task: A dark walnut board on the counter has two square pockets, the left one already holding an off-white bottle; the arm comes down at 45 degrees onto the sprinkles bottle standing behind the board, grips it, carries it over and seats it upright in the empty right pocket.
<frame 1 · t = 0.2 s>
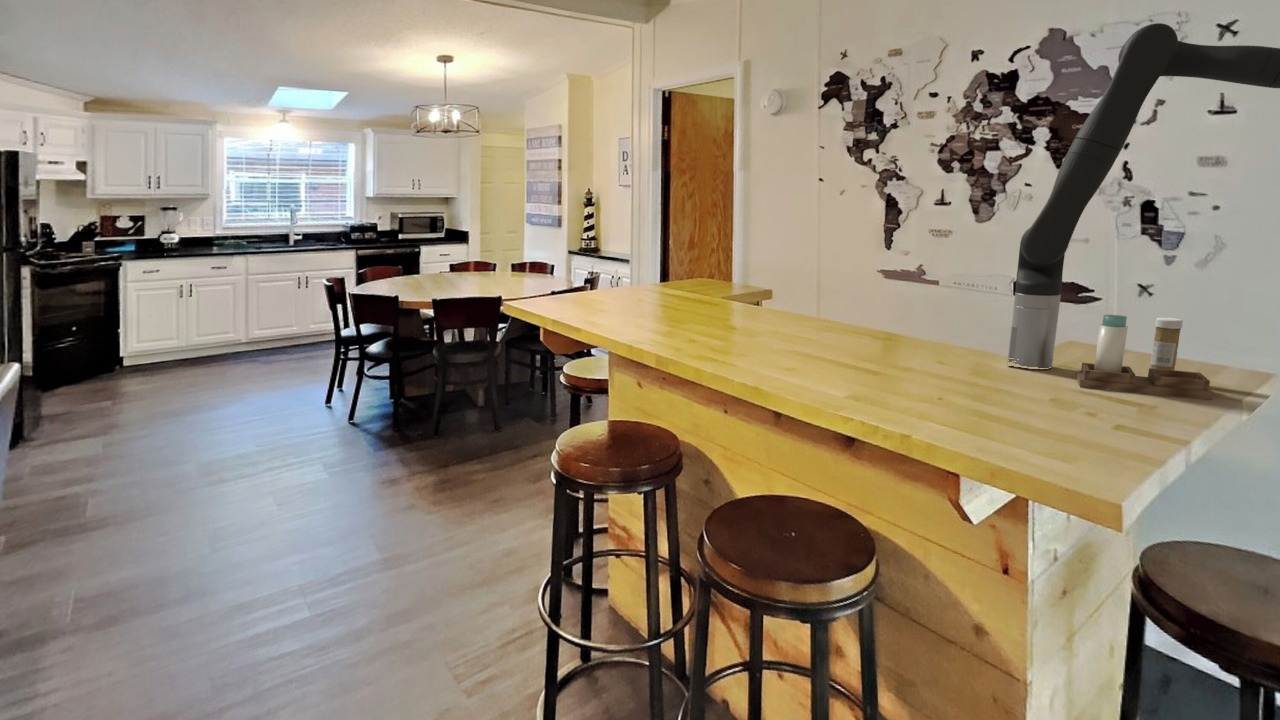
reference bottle: (1106, 377, 148), point 2 cm above the countertop, touching pocket board
pocket board: (1139, 387, 145), on the countertop
sprinkles bottle: (1160, 380, 153), on the countertop
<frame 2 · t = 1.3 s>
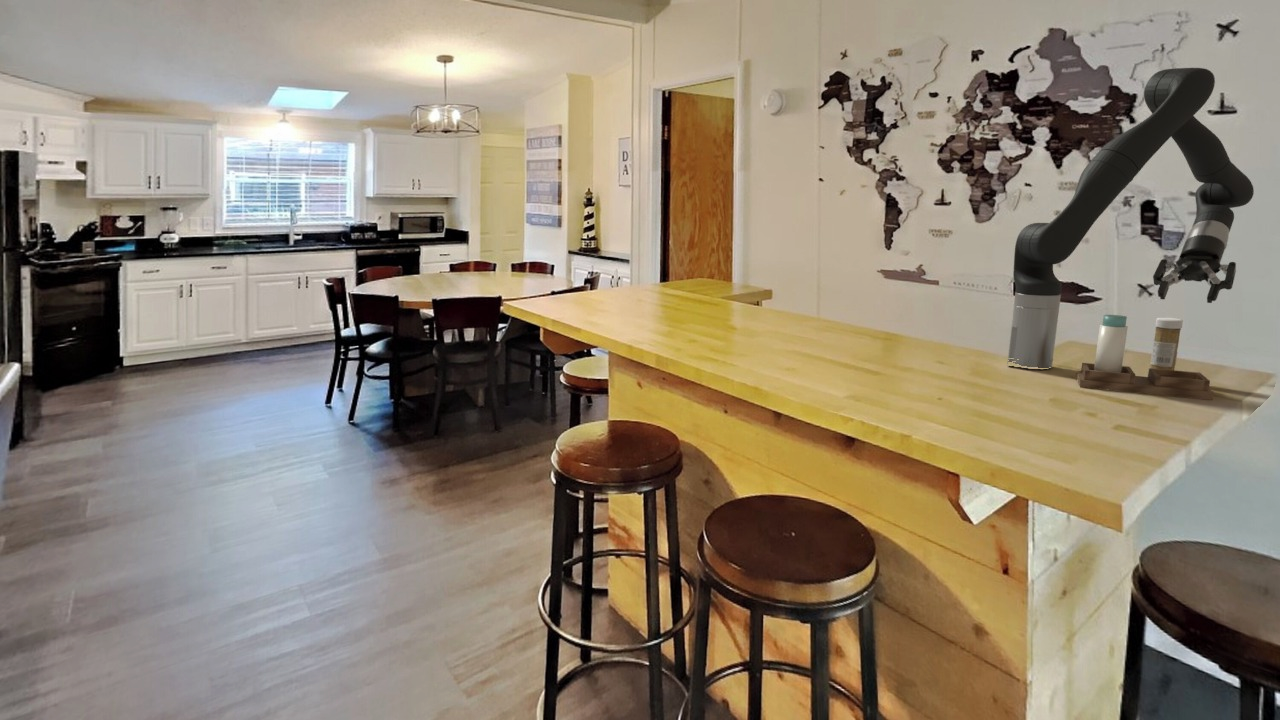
hand: (1185, 298, 157), 17 cm above the countertop, tool tilted 45°, fingers open, 8 cm apart
nothing on the countertop moved.
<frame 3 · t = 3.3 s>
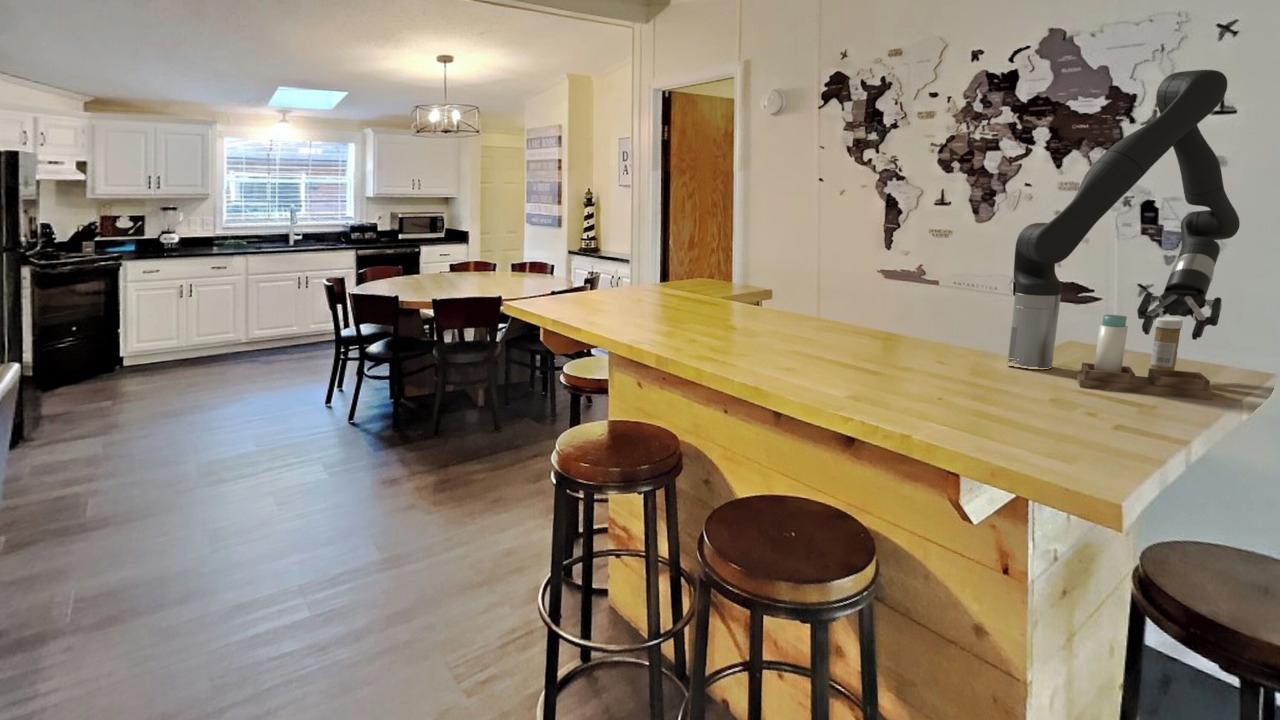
hand: (1169, 334, 152), 10 cm above the countertop, tool tilted 45°, fingers open, 8 cm apart
nothing on the countertop moved.
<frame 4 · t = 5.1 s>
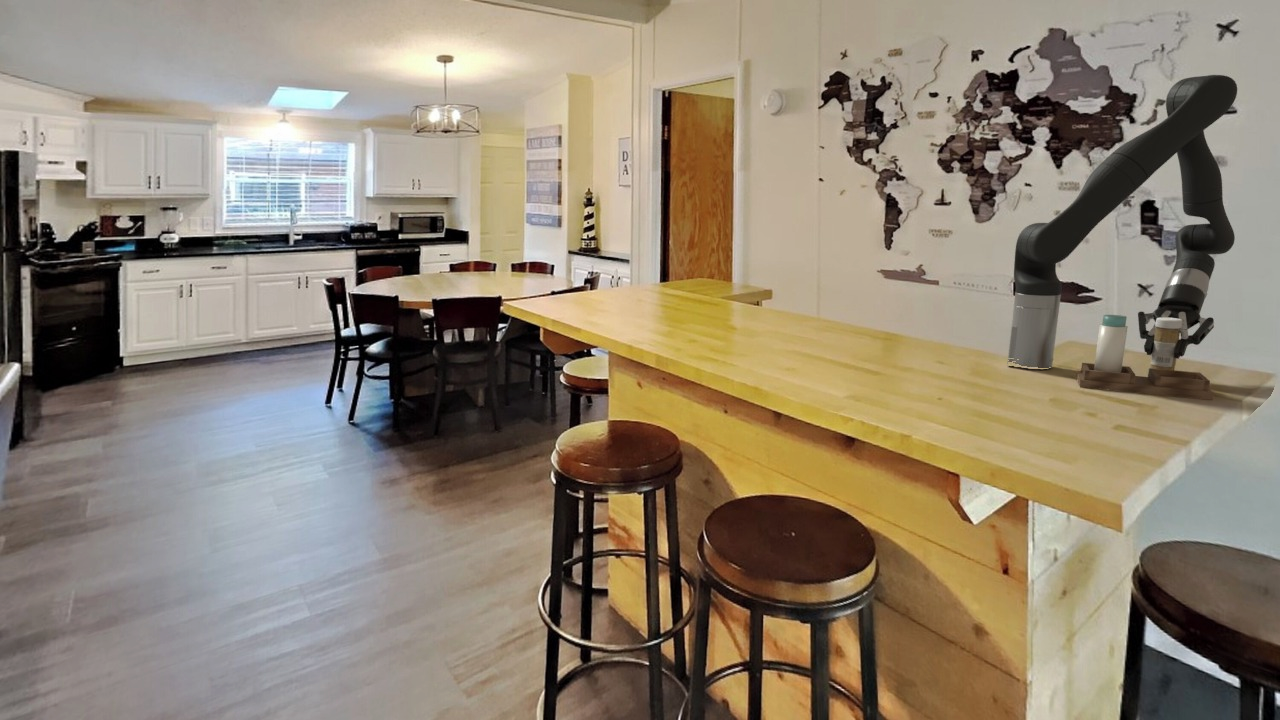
hand: (1162, 354, 150), 6 cm above the countertop, tool tilted 45°, fingers closed on sprinkles bottle, 4 cm apart
sprinkles bottle: (1160, 380, 153), on the countertop, touching gripper
everything else where it was.
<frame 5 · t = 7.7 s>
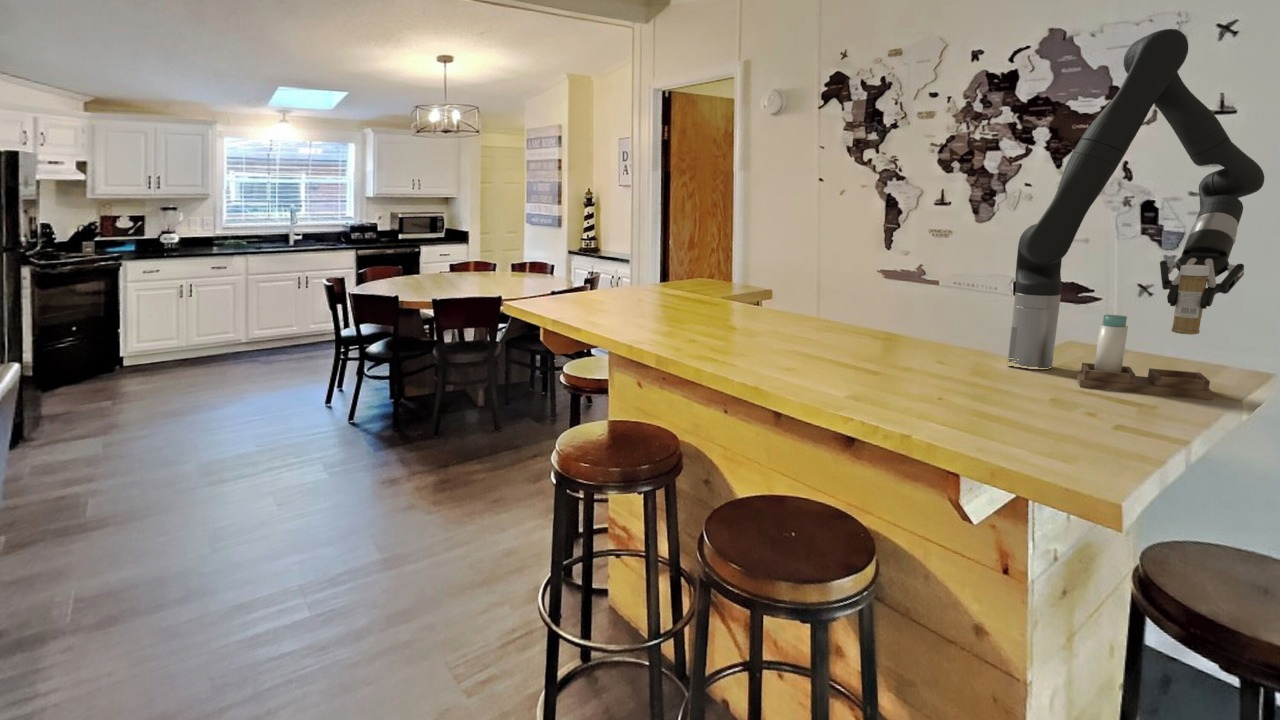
hand: (1187, 304, 138), 18 cm above the countertop, tool tilted 45°, fingers closed on sprinkles bottle, 4 cm apart
sprinkles bottle: (1184, 333, 141), point 12 cm above the countertop, touching gripper
everything else where it was.
when the fingers open (9 cm above the countertop, at t = 10.1 s): sprinkles bottle drops 1 cm, resting on pocket board.
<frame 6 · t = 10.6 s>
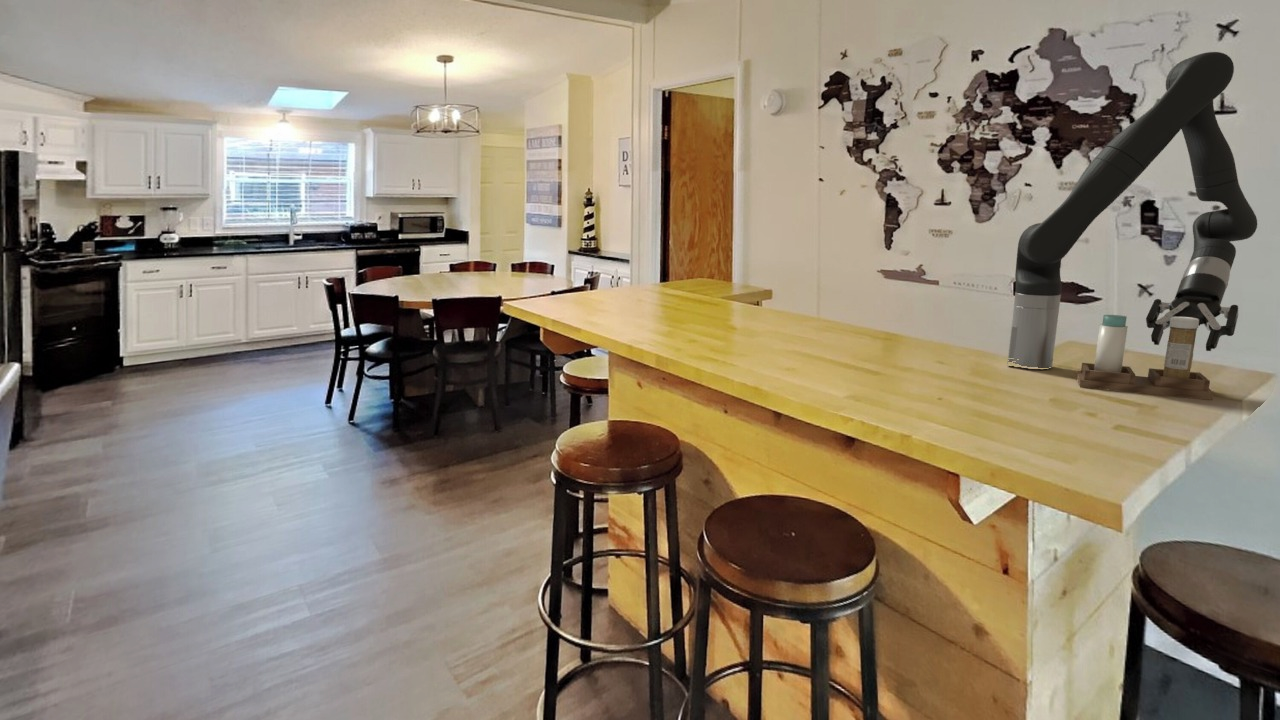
hand: (1181, 345, 140), 10 cm above the countertop, tool tilted 45°, fingers open, 8 cm apart
sprinkles bottle: (1174, 384, 143), point 1 cm above the countertop, touching pocket board
everything else where it was.
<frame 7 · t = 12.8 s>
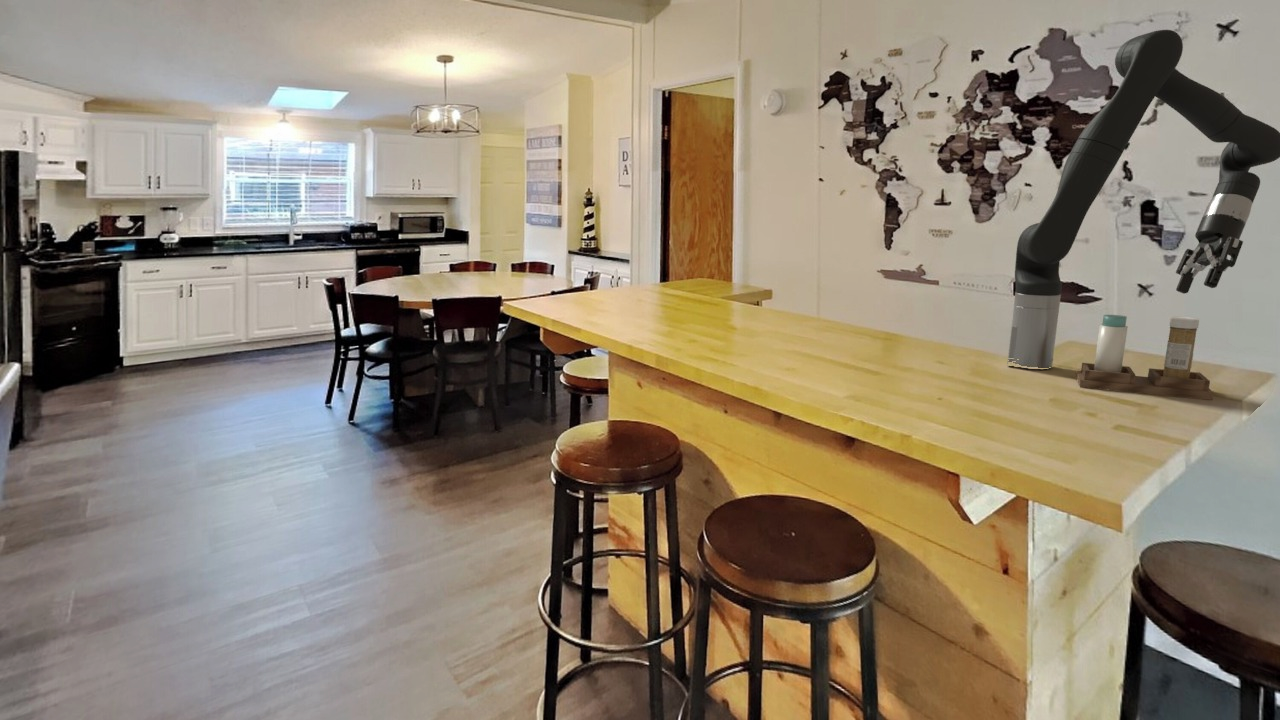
hand: (1195, 289, 151), 19 cm above the countertop, tool tilted 25°, fingers open, 8 cm apart
nothing on the countertop moved.
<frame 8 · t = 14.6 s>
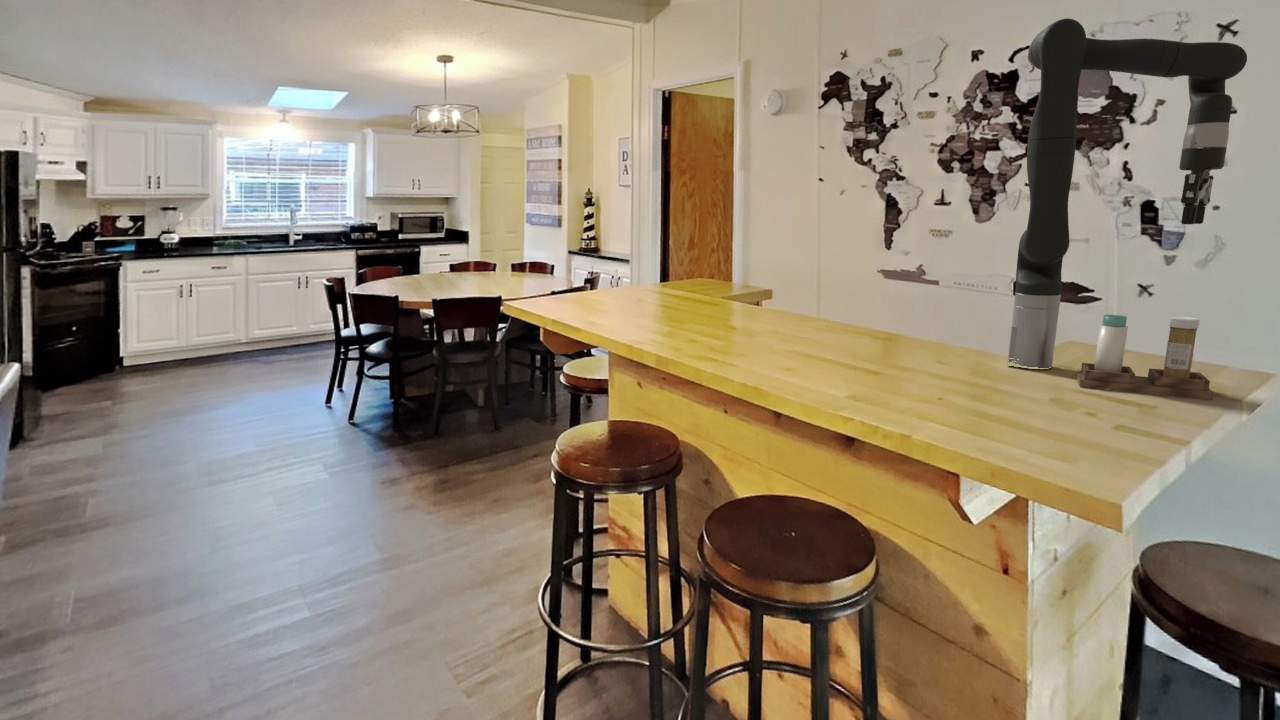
hand: (1192, 224, 153), 33 cm above the countertop, tool pointing down, fingers open, 8 cm apart
nothing on the countertop moved.
at the end: sprinkles bottle 0.4 cm from the target spot on the pocket board, point 1.4 cm above the pocket board's base; sprinkles bottle tilted 0°; the gripper is holding nothing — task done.
